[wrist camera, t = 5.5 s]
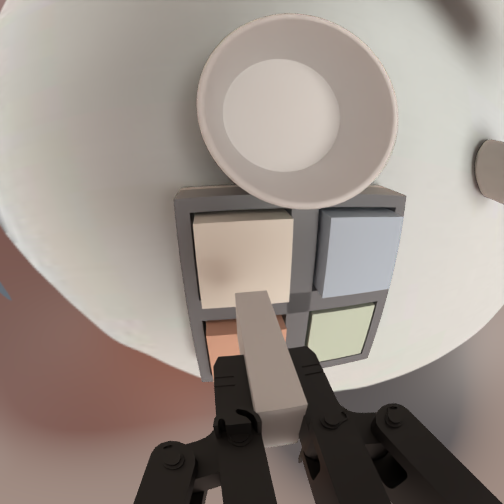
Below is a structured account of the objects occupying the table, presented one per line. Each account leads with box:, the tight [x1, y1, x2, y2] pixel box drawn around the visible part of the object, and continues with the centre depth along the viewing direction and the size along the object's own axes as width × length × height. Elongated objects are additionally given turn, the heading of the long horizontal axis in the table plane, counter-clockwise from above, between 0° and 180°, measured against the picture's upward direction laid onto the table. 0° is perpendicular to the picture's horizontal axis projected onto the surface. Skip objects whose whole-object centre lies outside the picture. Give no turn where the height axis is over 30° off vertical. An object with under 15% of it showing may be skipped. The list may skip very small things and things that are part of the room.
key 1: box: [304, 302, 375, 362], centre depth 24 cm, size 6×6×2 cm
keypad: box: [174, 185, 406, 382], centre depth 22 cm, size 17×17×4 cm
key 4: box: [193, 208, 294, 309], centre depth 18 cm, size 6×6×2 cm
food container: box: [197, 13, 398, 210], centre depth 16 cm, size 12×12×6 cm
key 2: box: [206, 315, 287, 381], centre depth 22 cm, size 6×6×2 cm
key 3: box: [313, 207, 404, 298], centre depth 19 cm, size 6×6×2 cm
